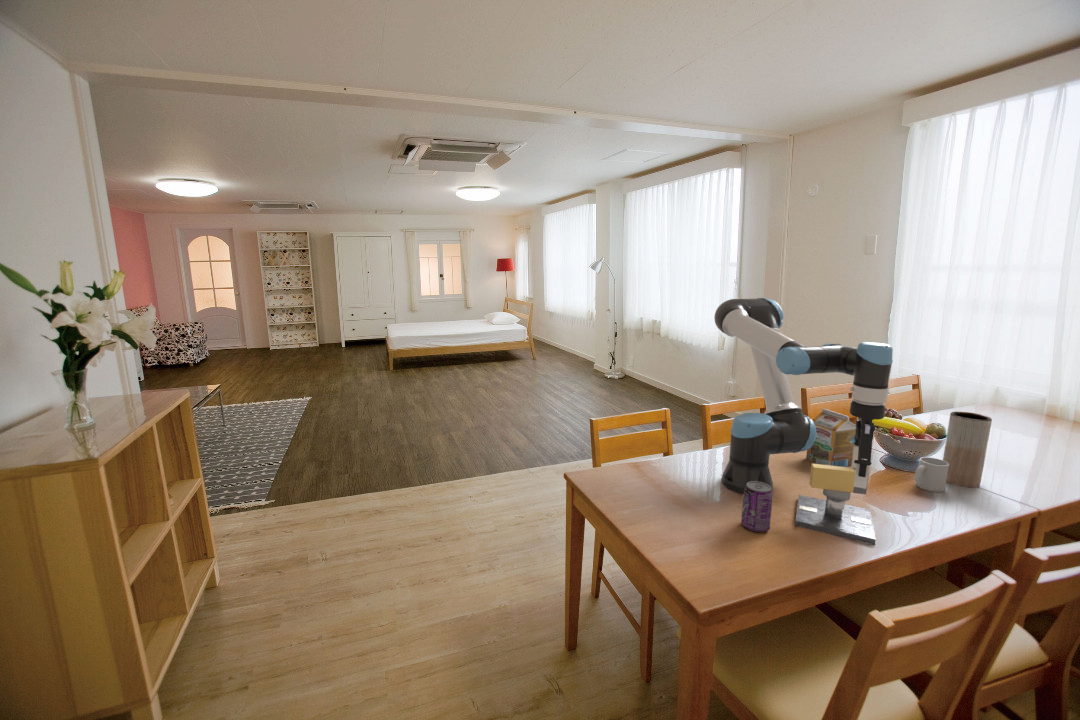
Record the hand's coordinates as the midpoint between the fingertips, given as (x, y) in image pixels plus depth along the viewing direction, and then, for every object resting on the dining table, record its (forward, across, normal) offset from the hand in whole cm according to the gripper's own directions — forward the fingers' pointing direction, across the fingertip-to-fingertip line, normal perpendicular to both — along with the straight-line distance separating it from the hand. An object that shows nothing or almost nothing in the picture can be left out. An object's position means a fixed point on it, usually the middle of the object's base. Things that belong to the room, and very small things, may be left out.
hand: (858, 477), depth 127 cm
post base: (+14, 0, -4) cm, 14 cm away
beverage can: (+14, +15, -23) cm, 31 cm away
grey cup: (+14, -39, +22) cm, 47 cm away
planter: (+14, -51, +32) cm, 61 cm away
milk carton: (+14, -48, -5) cm, 50 cm away
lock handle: (+6, 0, -5) cm, 8 cm away
